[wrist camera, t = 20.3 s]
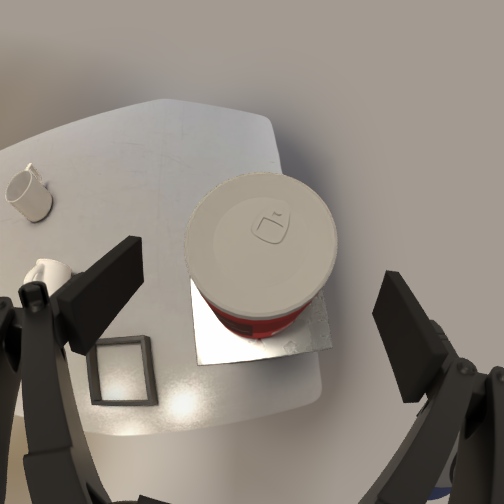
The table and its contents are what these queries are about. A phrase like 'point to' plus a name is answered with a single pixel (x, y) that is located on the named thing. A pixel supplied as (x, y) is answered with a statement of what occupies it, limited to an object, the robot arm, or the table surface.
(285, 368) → the table surface
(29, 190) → the mug
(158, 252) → the table surface
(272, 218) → the canned food
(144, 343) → the grey square frame
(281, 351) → the steel stand
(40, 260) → the mug
